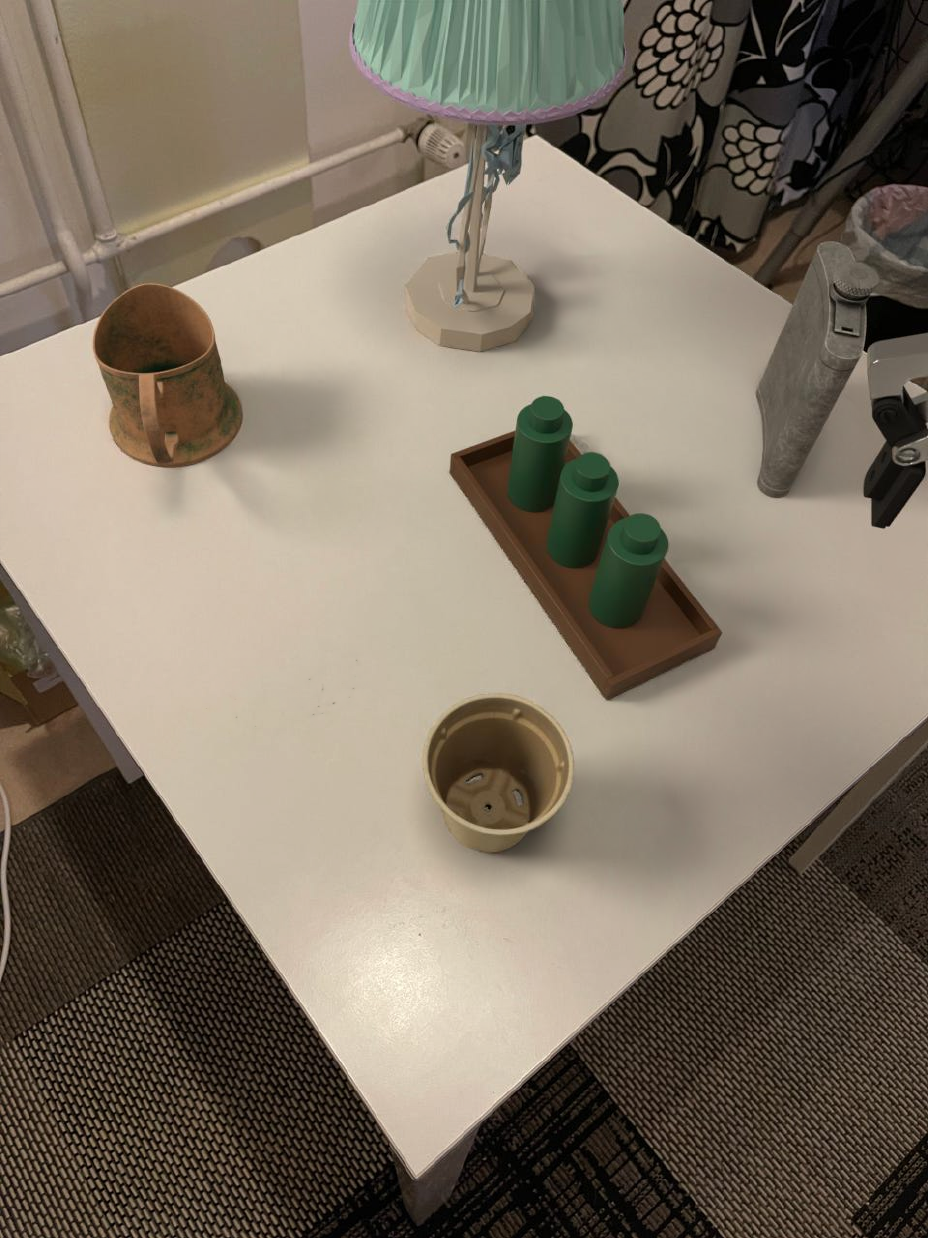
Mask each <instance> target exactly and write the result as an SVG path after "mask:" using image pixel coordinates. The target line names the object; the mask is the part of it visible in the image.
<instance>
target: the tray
mask: <svg viewBox="0 0 928 1238" xmlns="http://www.w3.org/2000/svg"><path fill="white" fill-rule="evenodd" d="M514 437H515V430H513V431H510V432H507V433H504V434H502V435H499V436H497V437H493V438H490V439H488V440H485V441H483V442H480V443H477V444H474V445H471V446H469V447H466V448H463V449H461V450H458V451H454V452H452V453H451V454H450V460H449V474H450V475H451V477H452V478H453V479H454V482H456V484H457V486H458V487H459V488H460V490H461V491H462V493H463V494H464V495H465V497H466V499H467V500H468V502H469V503H470V505H471V506H472V507H473V509H474V510H475V511H476V513H477V514H478V516H479V517H480V519H481V521H482V522H483V523H484V525H485V526H486V527H487V529H488V531H489V532H490V534H491V535H492V536H493V538H494V539H495V541H496V542H497V544H498V545H499V546H500V548H501V549H502V551H503V553H504V554H505V555H506V557H507V558H508V560H509V561H510V563H511V564H512V565H513V567H514V568H515V570H516V571H517V572H518V574H519V576H520V577H521V578H522V580H523V582H524V583H525V584H526V586H527V588H529V589H528V590H530V592H531V593H532V594H533V596H534V598H535V599H536V600H537V602H538V604H539V605H540V607H541V608H542V609H543V611H544V612H545V613H546V615H547V616H548V618H549V619H550V621H551V622H552V624H553V625H554V627H555V628H556V629H557V631H558V632H559V634H560V635H561V636H562V638H563V639H564V641H565V642H566V644H567V645H568V647H569V648H570V650H571V651H572V653H573V654H574V655H575V657H576V658H577V660H578V661H579V663H580V664H581V665H582V668H583V669H584V670H585V671H586V673H587V675H588V676H589V677H590V679H591V680H592V682H593V683H594V685H595V686H596V687H597V689H598V690H599V692H600V693H601V695H602V696H603V698H604V699H605V701H608V700H610V699H612V698H614V697H617V696H619V695H621V694H623V693H625V692H627V691H629V690H631V689H634V688H635V687H638V686H640V685H641V684H644V683H645V682H648V681H650V680H652V679H654V678H656V677H658V676H660V675H662V674H664V673H666V672H669V671H670V670H672V669H674V668H677V667H678V666H679V667H680V666H681V665H683V664H685V663H687V662H689V661H691V660H693V659H695V658H697V657H699V656H702V655H703V654H705V653H708V652H710V651H712V650H713V649H715V647H716V646H717V644H718V642H719V640H720V639H721V637H722V635H723V633H724V632H723V630H722V629H720V626H719V625H717V623H716V622H715V621H714V620H713V618H712V617H711V616H710V613H708V612H707V611H706V609H705V608H704V607H703V606H702V604H701V603H700V601H698V599H697V598H696V597H695V595H694V594H693V593H692V592H691V590H690V589H689V588H688V587H687V586H686V584H685V583H684V581H683V580H682V579H681V577H679V575H678V574H677V573H676V571H675V570H674V569H673V568H672V566H671V565H670V564H669V562H668V561H667V560H666V559H664V561H663V564H662V566H661V569H660V571H659V574H658V576H657V579H656V581H655V584H654V586H653V589H652V591H651V594H650V596H649V599H648V601H647V604H646V606H645V609H644V611H643V614H642V616H641V618H640V619H639V620H638V621H637V622H636V623H635V624H633V625H632V626H629V627H626V628H612V627H609V626H606V625H604V624H602V623H600V622H599V621H598V620H597V619H596V618H595V617H594V616H593V615H592V613H591V611H590V609H589V604H588V600H589V596H590V592H591V589H592V586H593V582H594V579H595V576H596V572H597V569H598V566H599V562H600V559H601V556H602V552H603V549H604V546H605V542H606V539H607V536H608V533H609V530H610V528H611V527H612V526H613V525H614V524H615V523H616V522H617V521H619V520H621V519H624V518H627V517H629V516H631V514H629V512H628V511H627V510H626V509H625V507H624V506H623V505H622V504H621V502H620V501H619V500H618V498H617V497H616V496H615V499H614V502H613V506H612V509H611V513H610V516H609V519H608V523H607V526H606V530H605V533H604V536H603V540H602V543H601V547H600V550H599V553H598V556H597V558H596V559H595V560H594V561H593V562H592V563H591V564H589V565H587V566H585V567H581V568H569V567H565V566H562V565H560V564H558V563H557V562H556V561H554V560H553V559H552V558H551V556H550V555H549V553H548V551H547V548H546V542H547V537H548V532H549V527H550V523H551V518H552V513H553V508H554V505H553V506H552V507H551V508H549V509H547V510H545V511H541V512H528V511H524V510H522V509H519V508H518V507H516V506H515V505H514V504H513V503H512V502H511V501H510V499H509V497H508V494H507V487H508V480H509V473H510V466H511V459H512V451H513V444H514ZM582 454H583V453H581V451H580V450H579V449H578V448H577V447H576V445H575V444H574V443H573V442H572V440H570V442H569V447H568V451H567V456H566V461H565V465H566V464H567V463H569V462H570V461H572V460H574V459H577V458H578V457H579V456H580V455H582ZM565 465H564V466H565Z"/></svg>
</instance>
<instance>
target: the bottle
mask: <svg viewBox="0 0 928 1238" xmlns="http://www.w3.org/2000/svg"><path fill="white" fill-rule="evenodd" d="M668 539H669V538H668V536H667V534H666V532H665V531H664V529H662V527H661V524H660V522H659V521H658V520H657V518H655V517H654V516H653V515H650V514H647V513H642V512H639V513H638V512H637V513H633V514H630V516H629V517H627V518H624V519H621V520H619V521H617V522H616V523H615V524H614V525H613V526H612V527H611V528H610V530H609V533H608V536H607V539H606V542H605V546H604V549H603V552H602V556H601V559H600V562H599V566H598V569H597V572H596V576H595V579H594V582H593V586H592V589H591V592H590V596H589V600H588V604H589V609H590V611H591V613H592V615H593V616H594V617H595V618H596V619H597V620H598V621H599V622H600V623H602V624H604V625H606V626H609V627H612V628H626V627H629V626H632V625H633V624H635V623H636V622H637V621H638V620H639V619H640V618H641V616H642V614H643V611H644V609H645V606H646V604H647V601H648V599H649V596H650V594H651V591H652V589H653V586H654V584H655V581H656V579H657V576H658V574H659V571H660V569H661V566H662V564H663V561H664V559H665V558H666V556H667V553H668V551H669V540H668ZM665 560H666V559H665Z"/></svg>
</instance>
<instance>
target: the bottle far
mask: <svg viewBox="0 0 928 1238" xmlns="http://www.w3.org/2000/svg"><path fill="white" fill-rule="evenodd" d="M573 428H574V423H573V418H572V416H571V415H570V413H569V412H568V411H567V410H566V409H565V406H564V404H563V403H562V401H560V400H559V399H558V398H557V397H553V396H550V395H542V396H539V397H538V396H537V397H536V398H535V399H533V400H532V402H531V403H530V404H528V405H526V406H524V407H523V408H522V409H521V410H520V412H519V413H518V415H517V418H516V423H515V430H514V431H515V437H514V444H513V451H512V459H511V466H510V473H509V480H508V487H507V494H508V497H509V499H510V501H511V502H512V503H513V504H514V505H515V506H516V507H518V508H519V509H522V510H524V511H528V512H541V511H545V510H547V509H549V508H551V507H552V506H553V505H554V504H555V499H556V494H557V489H558V485H559V480H560V475H561V471H562V469H563V468H564V465H565V461H566V456H567V451H568V447H569V442H570V441H571V438H572V437H571V436H572V433H573Z"/></svg>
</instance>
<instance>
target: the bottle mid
mask: <svg viewBox="0 0 928 1238" xmlns="http://www.w3.org/2000/svg"><path fill="white" fill-rule="evenodd" d="M581 454H582V455H580V456H579V457H578V458H577V459H574V460H572V461H570V462H569V463H567V464H566V465H565V466H564V468H563V469H562V471H561V475H560V480H559V485H558V489H557V494H556V499H555V504H554V508H553V513H552V518H551V523H550V527H549V532H548V537H547V542H546V548H547V551H548V553H549V555H550V556H551V558H552V559H553V560H554V561H556V562H557V563H558V564H560V565H562V566H565V567H569V568H581V567H585V566H587V565H589V564H591V563H592V562H593V561H594V560H595V559H596V558H597V556H598V553H599V550H600V547H601V543H602V540H603V536H604V533H605V530H606V526H607V523H608V519H609V516H610V513H611V509H612V506H613V502H614V499H615V497H616V496H617V492H618V488H619V484H620V481H619V477H618V474H617V472H616V471H615V468H613V467H612V466H611V463H610V461H609V459H608V458H607V457H605V456H604V455H603V454H601V453H598V452H594V451H593V452H592V451H589V452H588V451H587V452H583V453H581Z"/></svg>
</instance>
